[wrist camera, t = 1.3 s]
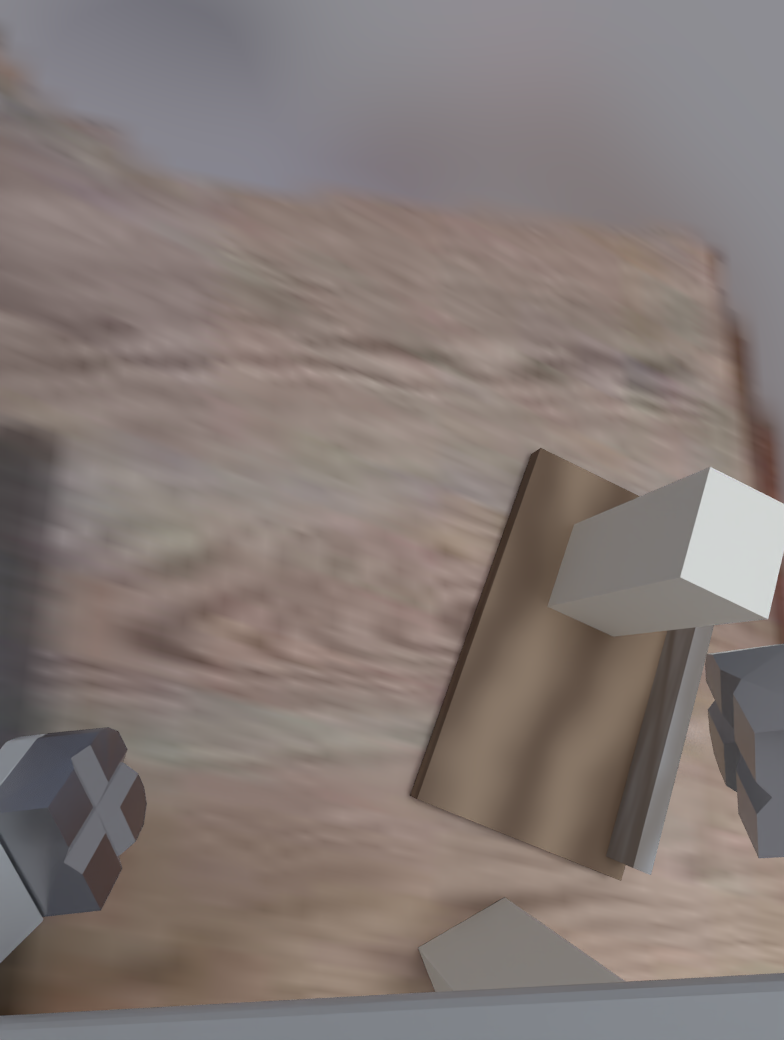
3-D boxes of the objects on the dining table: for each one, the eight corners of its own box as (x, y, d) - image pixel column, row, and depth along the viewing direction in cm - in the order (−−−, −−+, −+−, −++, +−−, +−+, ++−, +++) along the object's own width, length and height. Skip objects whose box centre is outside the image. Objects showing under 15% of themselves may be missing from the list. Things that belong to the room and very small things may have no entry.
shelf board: (410, 795, 45) (432, 807, 41) (531, 454, 52) (561, 433, 48) (608, 874, 47) (649, 894, 43) (699, 536, 54) (742, 523, 50)
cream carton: (417, 947, 43) (515, 1064, 30) (504, 897, 45) (632, 986, 32) (452, 1036, 43) (567, 1196, 29) (539, 982, 44) (684, 1108, 31)
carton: (547, 606, 48) (680, 577, 35) (574, 524, 50) (710, 466, 37) (616, 638, 49) (772, 621, 36) (640, 556, 51) (797, 510, 37)
